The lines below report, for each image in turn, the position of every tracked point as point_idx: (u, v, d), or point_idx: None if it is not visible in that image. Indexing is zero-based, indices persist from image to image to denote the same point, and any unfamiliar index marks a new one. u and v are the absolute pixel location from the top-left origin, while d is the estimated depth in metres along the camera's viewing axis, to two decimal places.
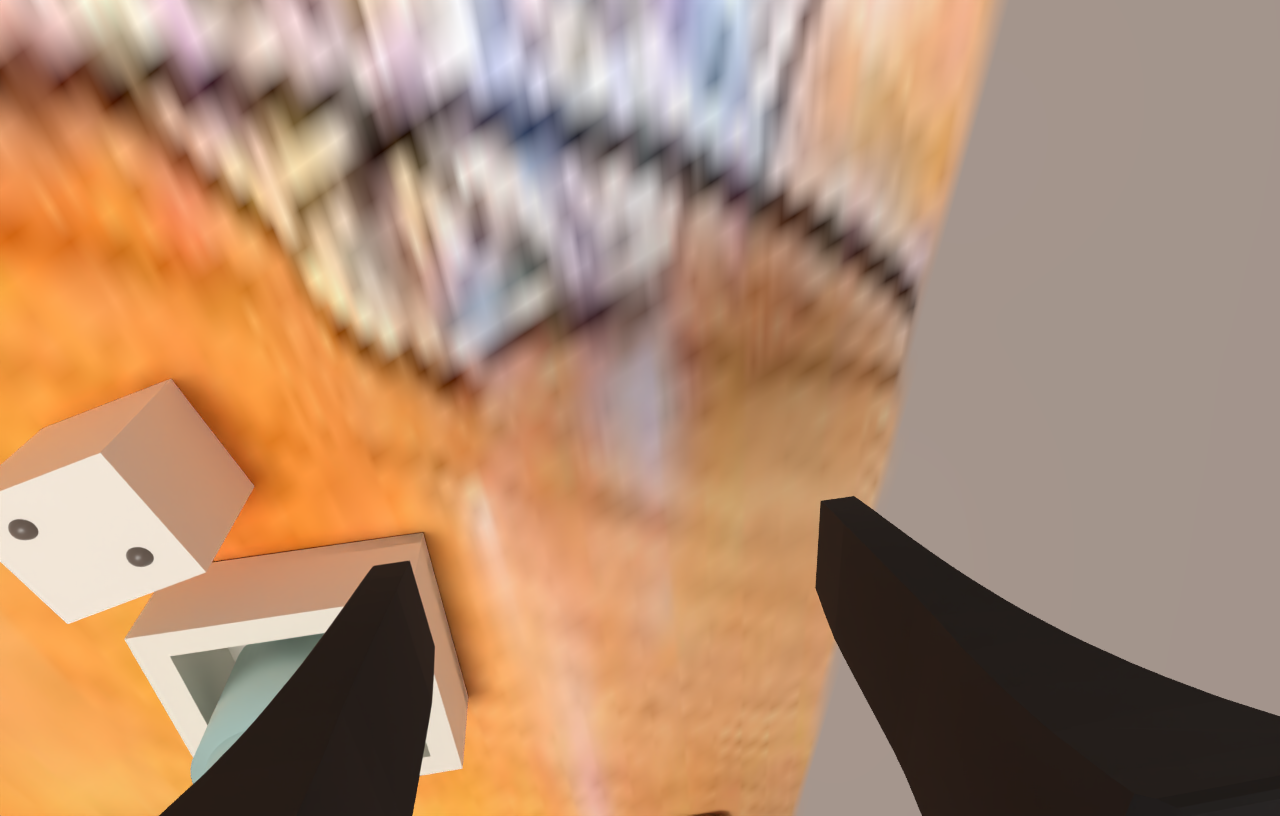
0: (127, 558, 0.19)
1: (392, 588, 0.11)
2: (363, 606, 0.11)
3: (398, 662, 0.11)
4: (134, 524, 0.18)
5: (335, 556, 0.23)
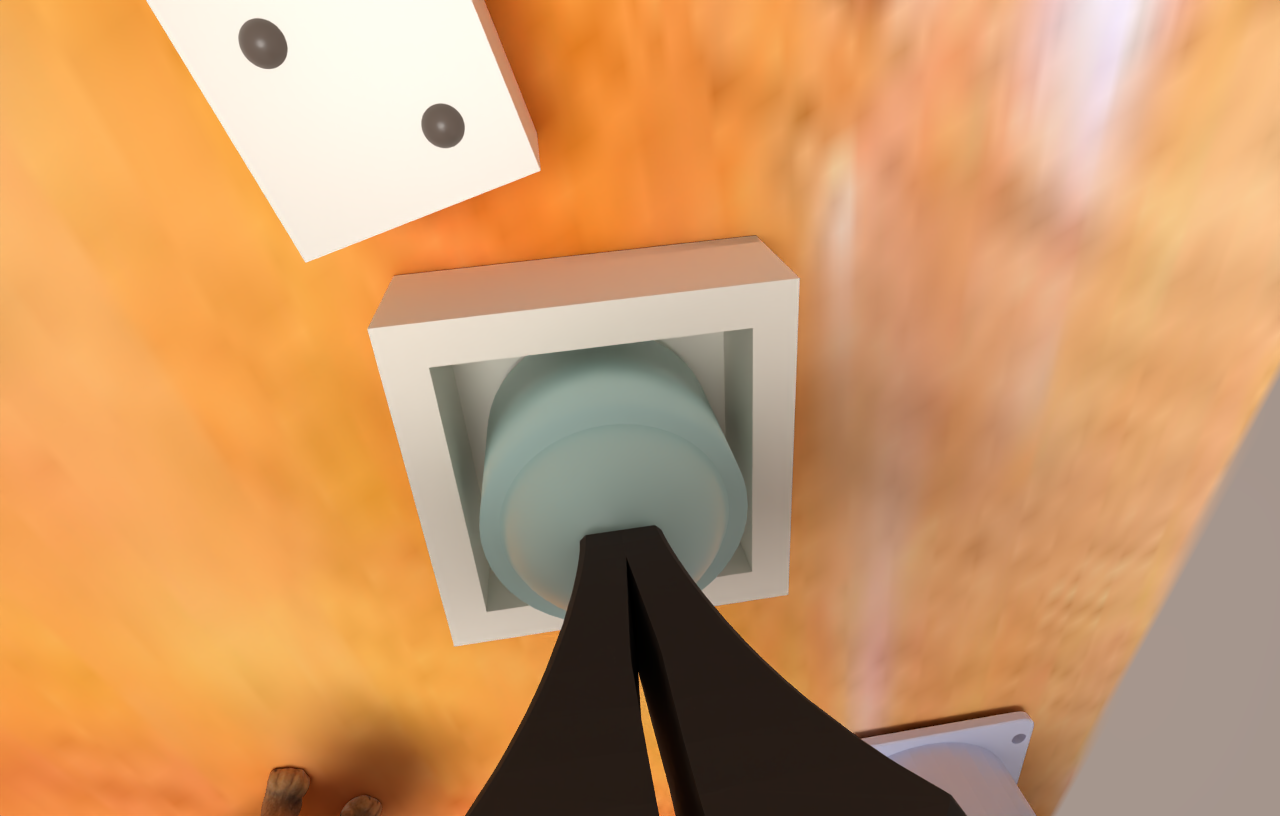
0: (420, 128, 0.11)
1: (620, 554, 0.11)
2: (600, 570, 0.11)
3: (631, 625, 0.11)
4: (446, 50, 0.10)
5: (641, 256, 0.16)
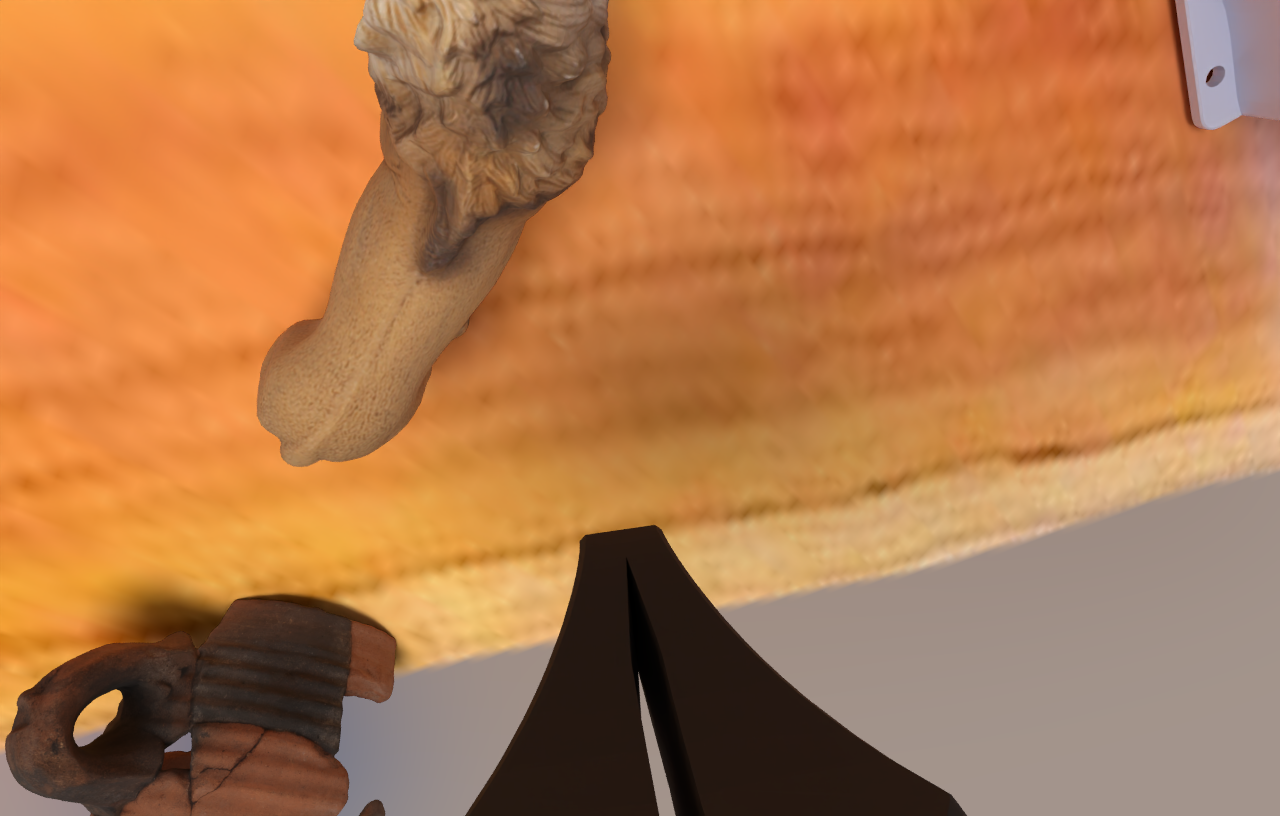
0: None
1: (620, 554, 0.11)
2: (600, 570, 0.11)
3: (631, 625, 0.11)
4: None
5: None
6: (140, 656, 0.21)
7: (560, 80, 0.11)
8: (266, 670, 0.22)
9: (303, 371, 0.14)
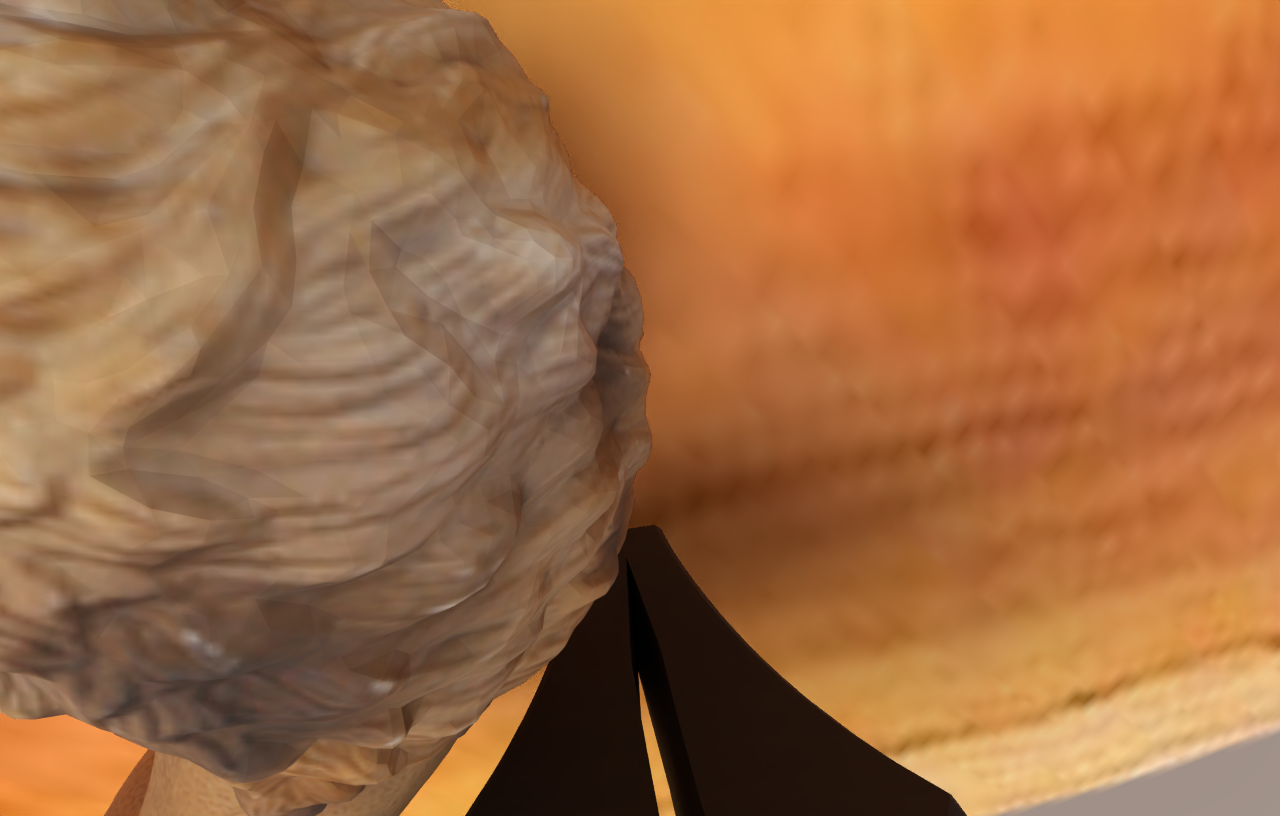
0: None
1: (620, 554, 0.11)
2: None
3: (631, 625, 0.11)
4: None
5: None
6: None
7: (421, 619, 0.03)
8: None
9: None
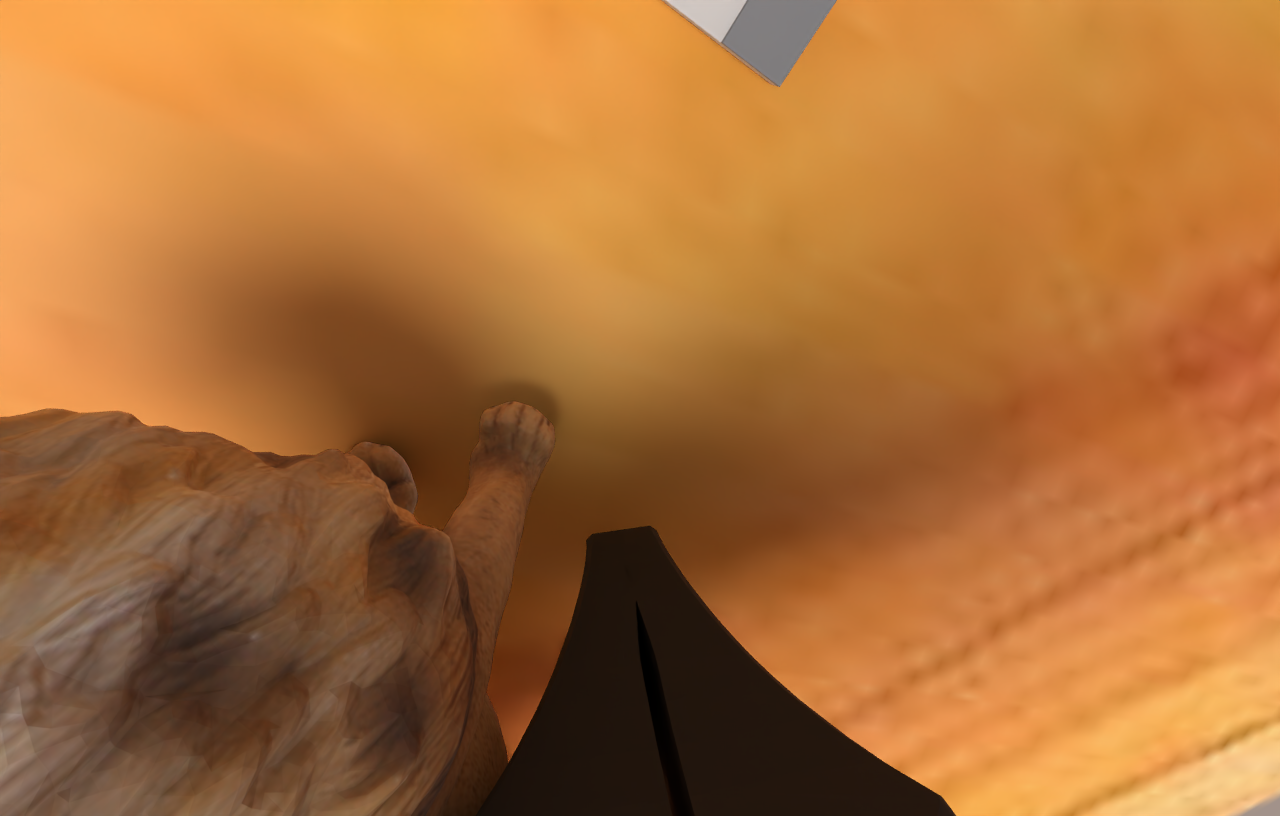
0: None
1: (628, 553, 0.11)
2: (608, 569, 0.11)
3: None
4: None
5: None
6: None
7: None
8: None
9: None
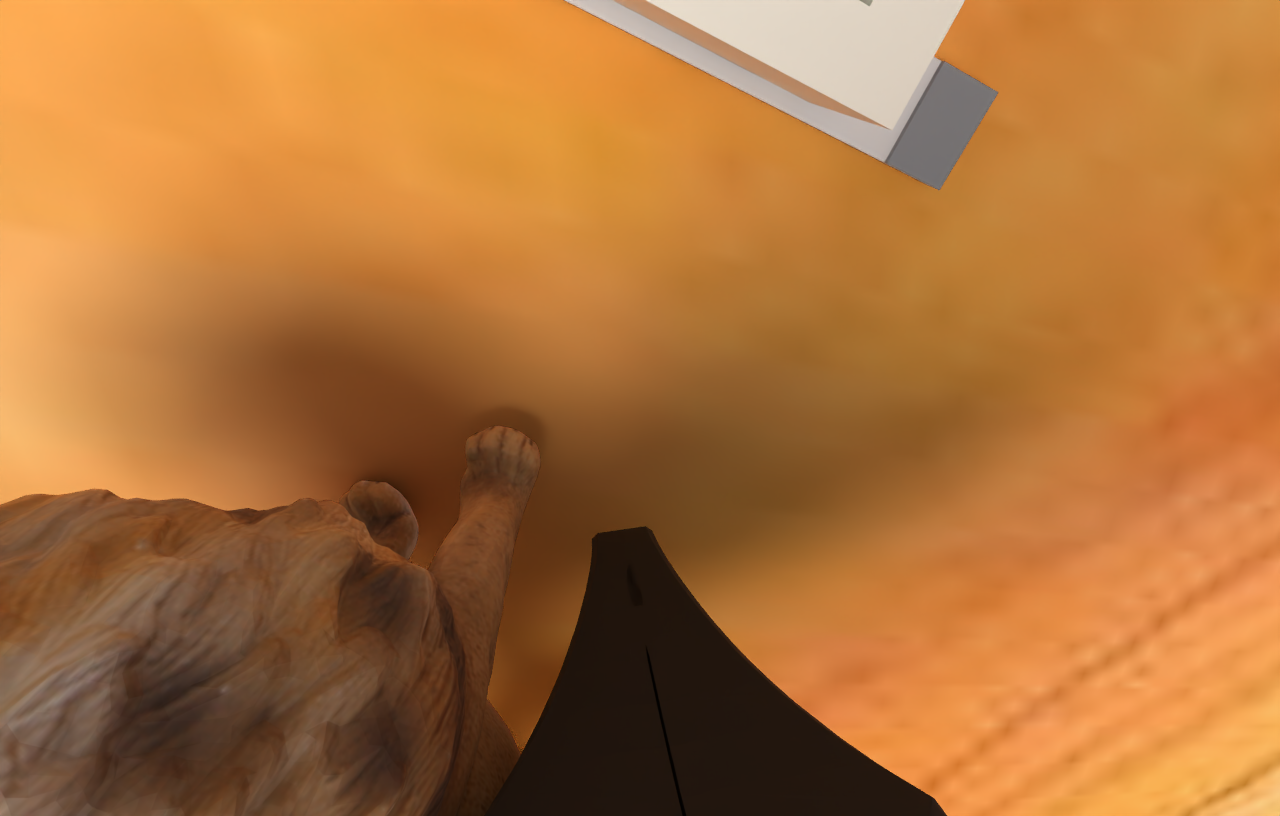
0: None
1: (633, 552, 0.11)
2: (614, 568, 0.11)
3: None
4: None
5: None
6: None
7: None
8: None
9: None
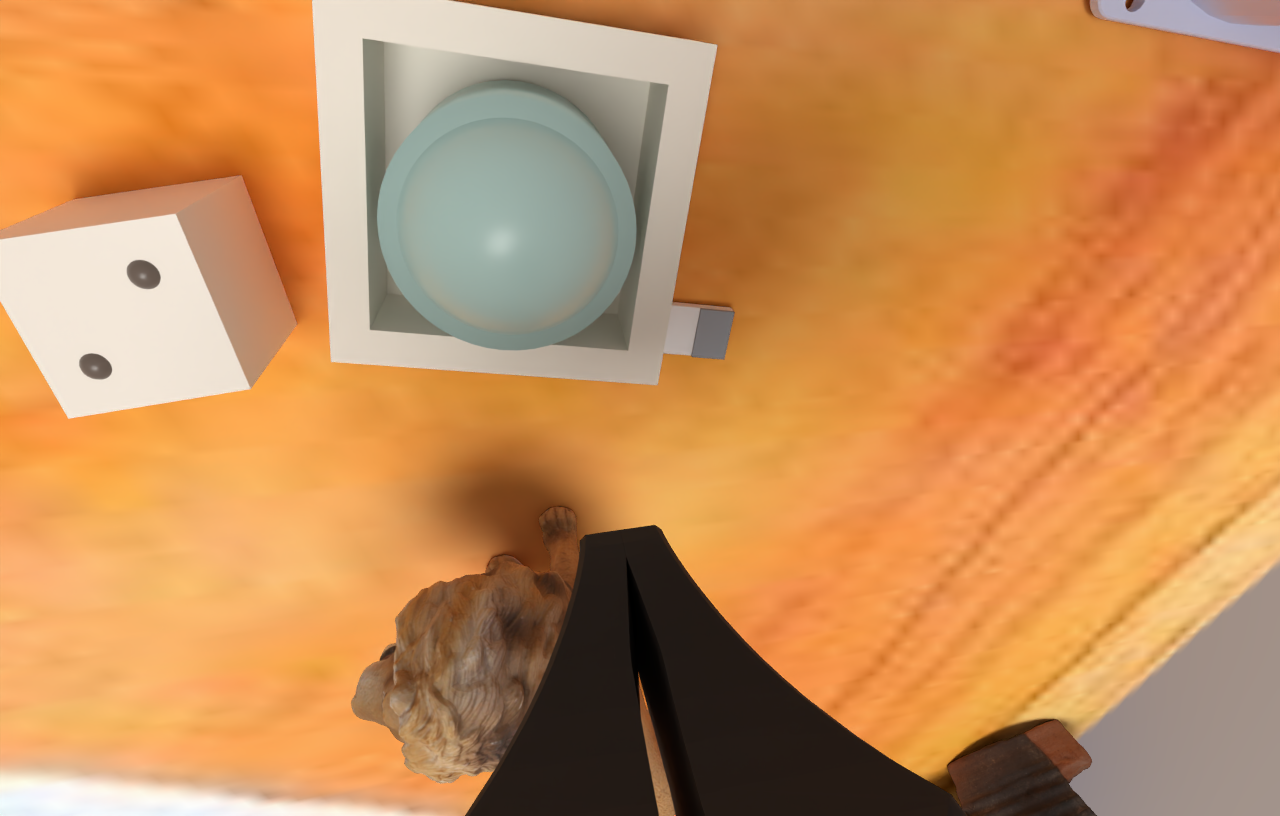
0: (146, 289, 0.15)
1: (620, 554, 0.11)
2: (600, 570, 0.11)
3: (631, 625, 0.11)
4: (87, 257, 0.15)
5: None
6: None
7: (520, 710, 0.17)
8: (1012, 801, 0.32)
9: None
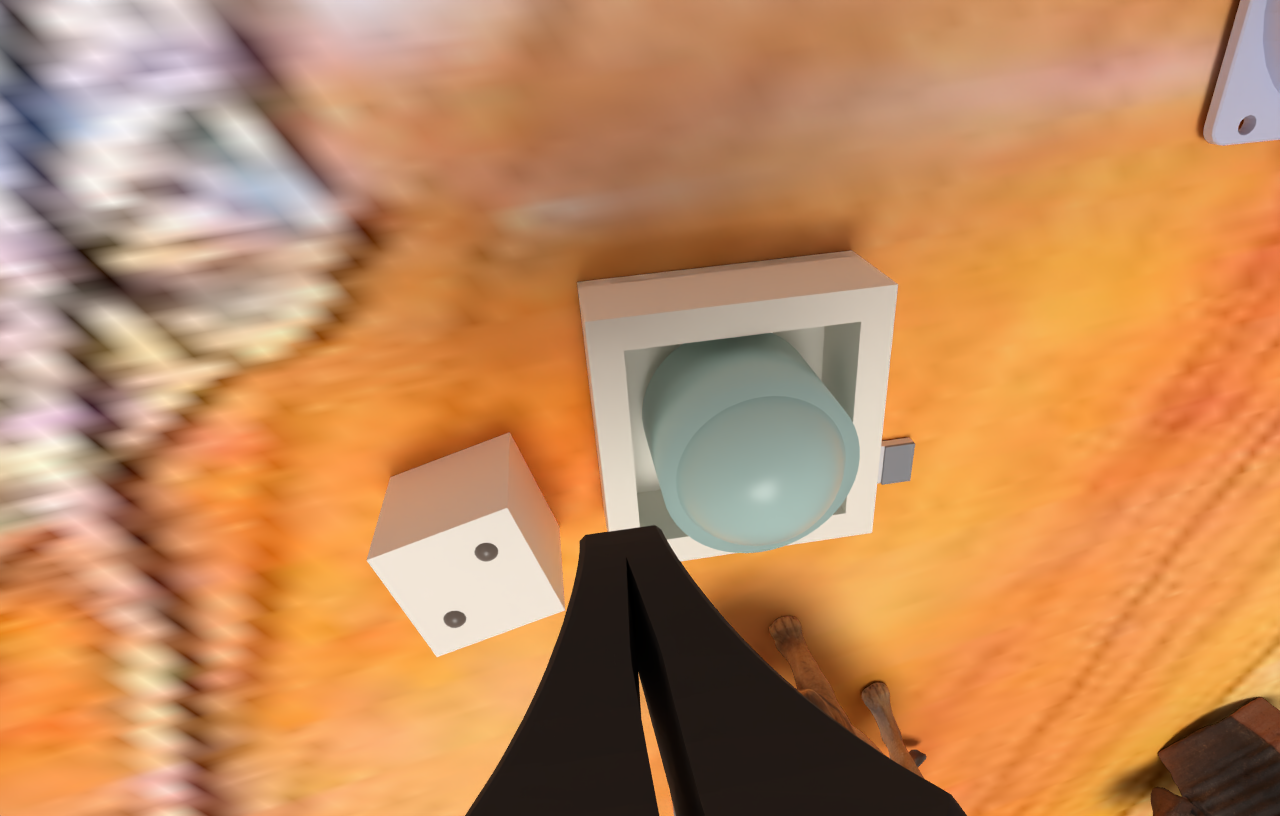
0: (488, 560, 0.20)
1: (620, 554, 0.11)
2: (600, 570, 0.11)
3: (631, 625, 0.11)
4: (447, 550, 0.19)
5: (588, 376, 0.21)
6: None
7: None
8: (1232, 783, 0.33)
9: None
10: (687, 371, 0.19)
